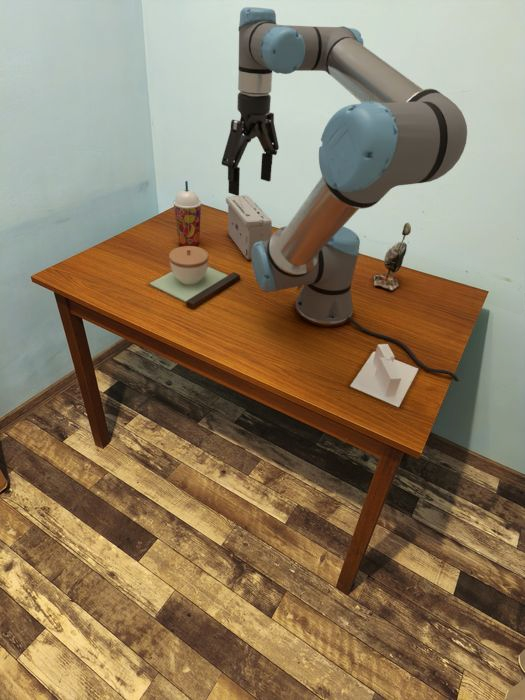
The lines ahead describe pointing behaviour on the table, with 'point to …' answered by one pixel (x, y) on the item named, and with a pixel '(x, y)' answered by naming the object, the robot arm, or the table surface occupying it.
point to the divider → (212, 290)
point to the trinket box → (189, 264)
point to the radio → (247, 223)
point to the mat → (184, 291)
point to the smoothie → (187, 217)
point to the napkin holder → (385, 376)
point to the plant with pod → (393, 262)
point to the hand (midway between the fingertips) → (250, 186)
